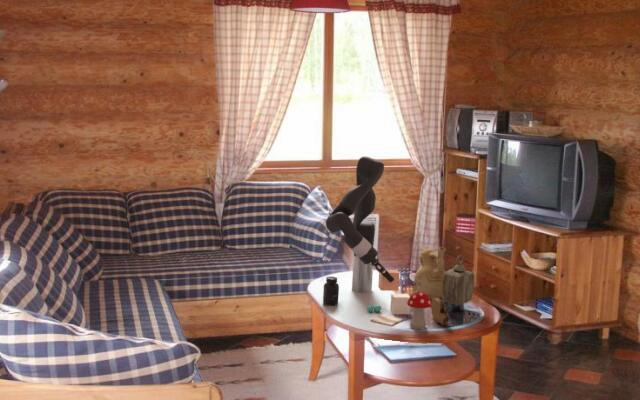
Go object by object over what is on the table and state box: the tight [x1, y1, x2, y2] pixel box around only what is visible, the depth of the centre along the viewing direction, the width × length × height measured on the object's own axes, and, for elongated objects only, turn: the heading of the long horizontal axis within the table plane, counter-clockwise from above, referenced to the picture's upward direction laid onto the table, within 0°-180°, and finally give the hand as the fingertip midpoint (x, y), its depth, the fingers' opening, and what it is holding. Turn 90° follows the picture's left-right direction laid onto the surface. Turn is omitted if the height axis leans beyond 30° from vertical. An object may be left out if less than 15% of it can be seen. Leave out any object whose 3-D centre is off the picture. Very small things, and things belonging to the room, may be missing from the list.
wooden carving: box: [429, 298, 450, 326], centre depth 311 cm, size 16×5×10 cm, turn 17°
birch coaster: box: [370, 313, 404, 327], centre depth 311 cm, size 10×10×1 cm
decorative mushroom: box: [407, 291, 432, 330], centre depth 303 cm, size 10×9×15 cm
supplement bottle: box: [322, 276, 340, 307], centre depth 330 cm, size 7×7×12 cm
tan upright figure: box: [413, 246, 446, 300], centre depth 349 cm, size 17×20×25 cm
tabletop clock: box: [441, 254, 475, 312], centre depth 328 cm, size 14×9×25 cm, turn 145°
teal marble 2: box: [374, 304, 382, 313], centre depth 322 cm, size 3×3×3 cm
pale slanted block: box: [390, 293, 411, 315], centre depth 322 cm, size 7×5×8 cm
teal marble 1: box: [366, 304, 375, 313], centre depth 322 cm, size 3×3×3 cm
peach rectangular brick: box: [377, 269, 400, 292], centre depth 308 cm, size 7×5×8 cm
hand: (390, 278), depth 308 cm, fingers closed on peach rectangular brick, 5 cm apart
